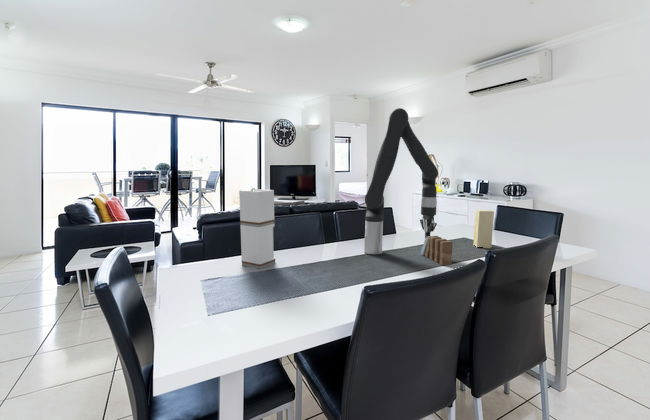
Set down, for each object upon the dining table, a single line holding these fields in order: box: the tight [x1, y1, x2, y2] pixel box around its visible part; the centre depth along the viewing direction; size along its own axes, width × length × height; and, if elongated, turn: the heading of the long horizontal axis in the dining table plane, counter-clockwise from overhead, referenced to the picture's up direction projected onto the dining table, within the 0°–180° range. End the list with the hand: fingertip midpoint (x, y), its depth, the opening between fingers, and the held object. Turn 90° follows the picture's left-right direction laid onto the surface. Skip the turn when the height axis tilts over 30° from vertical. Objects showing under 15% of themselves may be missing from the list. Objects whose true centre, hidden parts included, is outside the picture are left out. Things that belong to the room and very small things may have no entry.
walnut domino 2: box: [429, 236, 443, 261], centre depth 168 cm, size 2×5×11 cm, turn 104°
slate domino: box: [420, 236, 428, 256], centre depth 175 cm, size 2×5×11 cm
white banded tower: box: [238, 188, 276, 270], centre depth 159 cm, size 11×11×35 cm
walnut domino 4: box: [439, 240, 453, 266], centre depth 160 cm, size 2×5×11 cm, turn 103°
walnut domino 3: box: [433, 238, 448, 264], centre depth 164 cm, size 2×5×11 cm, turn 103°
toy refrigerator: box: [472, 209, 495, 249], centre depth 193 cm, size 8×7×21 cm
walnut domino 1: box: [424, 235, 439, 259], centre depth 171 cm, size 2×5×11 cm, turn 104°
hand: (427, 238), depth 176 cm, fingers closed
